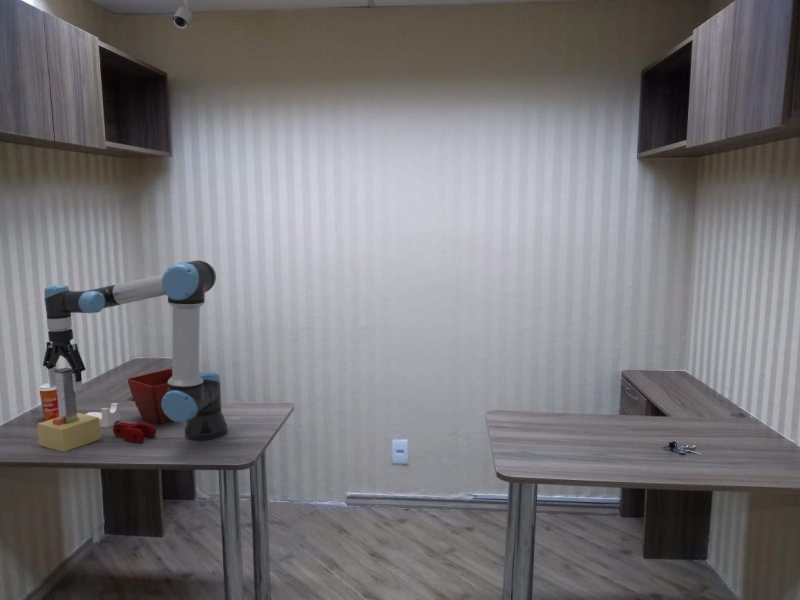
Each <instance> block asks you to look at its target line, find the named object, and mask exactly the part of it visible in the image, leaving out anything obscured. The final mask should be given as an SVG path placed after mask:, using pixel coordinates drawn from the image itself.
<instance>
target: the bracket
mask: <svg viewBox="0 0 800 600" xmlns="http://www.w3.org/2000/svg"><path fill="white" fill-rule="evenodd" d="M100 411H101V412H99V411H95V412H93V411H88V412H87V413H85V415H90V416H94V417H99V423H100V428H111V427H112V426H114V425H116V422H118V421H120V420H121V416H120V414H121V413H120V403H118V402H117V403H116V402H115V403H114V402H112V403H110V408H108V407H103V408H101V409H100Z"/></svg>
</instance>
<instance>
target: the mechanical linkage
mask: <svg viewBox="0 0 800 600" xmlns="http://www.w3.org/2000/svg"><path fill="white" fill-rule="evenodd" d="M112 432H113V434H114V436H115V437H116V438H123V439H124V440H123V441H124V442H128V443H133V444H140V443H142V442H144V441H145V439H151V438H154V437H155V436H156V433H157V430H156V427H155V426H154V425H153V424H151V423H147V422H140V421H139V422H136V423H131V422H130V423H129V422H123V421H122V422H118V423H117V424H116V423H115V424H114V425H113V427H112Z"/></svg>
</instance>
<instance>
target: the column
mask: <svg viewBox="0 0 800 600" xmlns="http://www.w3.org/2000/svg"><path fill="white" fill-rule="evenodd" d="M72 372H73V370H72V368H71V367H63V368H57V370H54V373H55V376H56V387H57V398H58V408H59V418H60V419H63V421H64V424H68V423H71V422H74V421H77V420H79V418H78V417H77V413H78V411H77V400H76V391H74V389H73V378H72Z"/></svg>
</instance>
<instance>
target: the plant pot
mask: <svg viewBox="0 0 800 600" xmlns="http://www.w3.org/2000/svg"><path fill="white" fill-rule="evenodd" d="M172 373H173V368H165V369H162V370H159V371H155V372H149V373H145V374H141V375H138V376H132V377H129V378H127V383H128V387H129V391H130V394H131V397H132V399H133V401H134V404H135V405H136V406H135V407H136V408H137V410H138V413H139V414H140V416H141V418H142V419H144V420H146V421H148V422H151V423H154V424H157V425H162V424H166V423H168V422H171V421H173V420H171V419H169V417H168V416H167V415H165V413H164V412H163V410H162V405H161V403H162V399H163V397H164V395H165V394H166V393H167V392H168V380H169V379H170V378H171V377H172Z"/></svg>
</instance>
